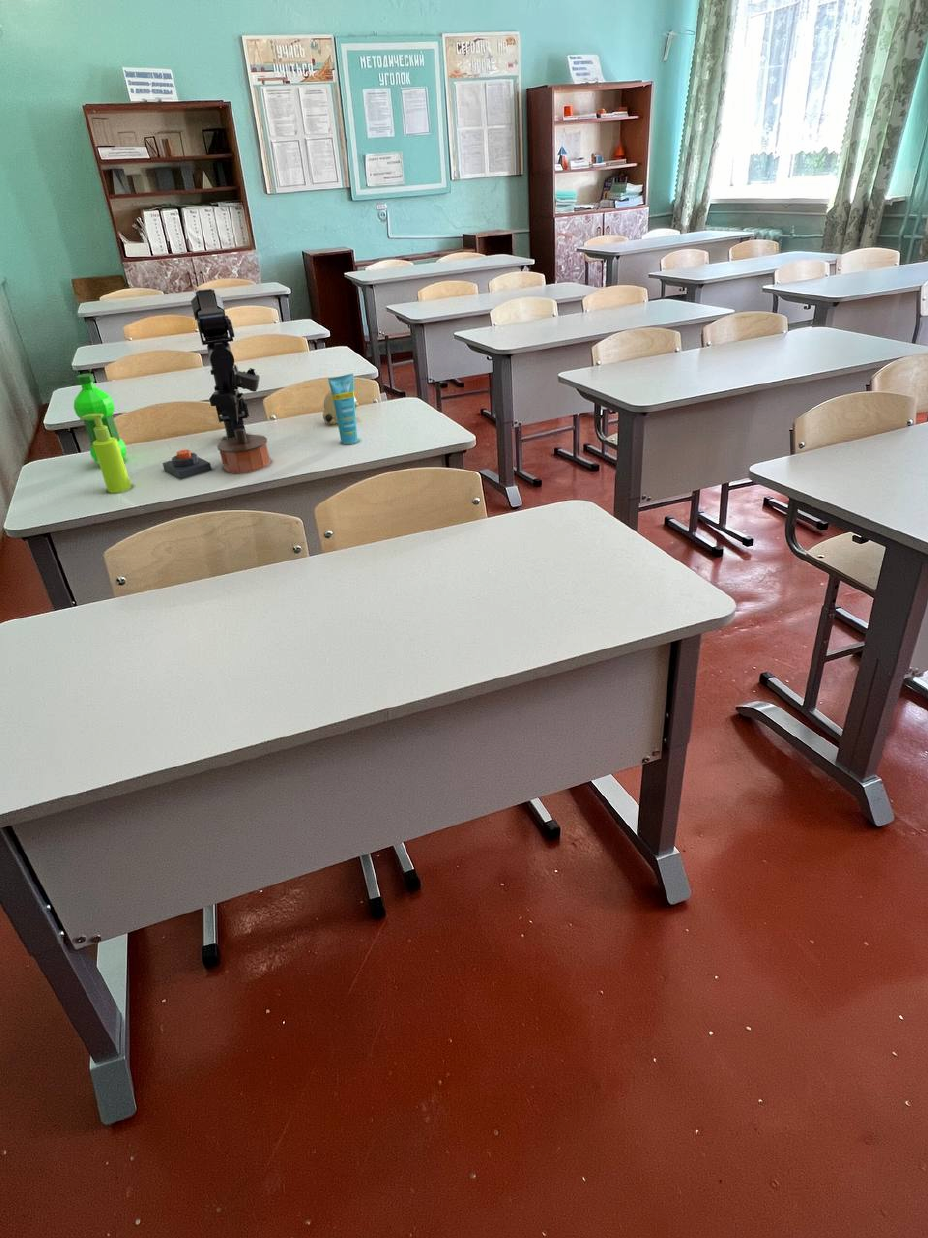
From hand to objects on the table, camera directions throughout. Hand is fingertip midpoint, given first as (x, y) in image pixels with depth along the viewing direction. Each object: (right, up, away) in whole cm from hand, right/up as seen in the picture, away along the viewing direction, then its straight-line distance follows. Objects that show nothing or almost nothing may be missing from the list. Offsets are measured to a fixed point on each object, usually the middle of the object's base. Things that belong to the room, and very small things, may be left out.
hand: (235, 422), depth 205 cm
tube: (+28, -1, +18) cm, 34 cm away
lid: (+1, -5, +3) cm, 6 cm away
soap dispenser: (-30, -19, -3) cm, 36 cm away
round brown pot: (+1, -10, +6) cm, 12 cm away
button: (-15, -9, +4) cm, 18 cm away
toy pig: (+23, +10, +36) cm, 44 cm away
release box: (-15, -12, +6) cm, 20 cm away
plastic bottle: (-41, -8, +16) cm, 44 cm away
